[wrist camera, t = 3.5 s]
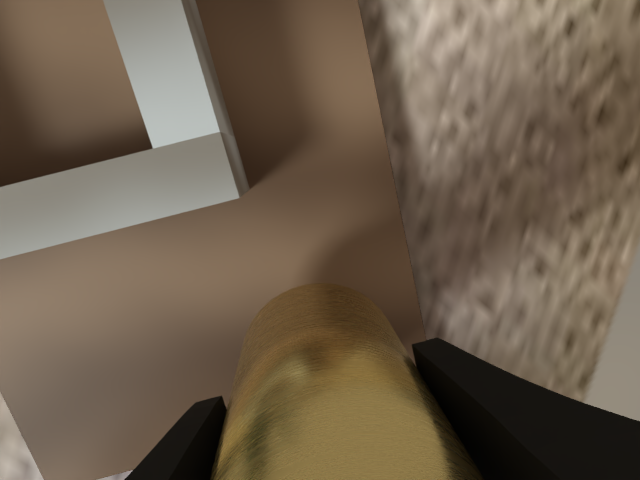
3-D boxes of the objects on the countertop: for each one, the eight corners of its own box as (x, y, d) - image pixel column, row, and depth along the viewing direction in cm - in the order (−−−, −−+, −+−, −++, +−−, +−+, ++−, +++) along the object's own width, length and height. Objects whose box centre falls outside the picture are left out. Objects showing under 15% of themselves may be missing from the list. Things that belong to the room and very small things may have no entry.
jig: (426, 372, 15) (467, 438, 11) (66, 469, 15) (-2, 565, 11) (310, -191, 11) (320, -351, 7) (-192, -72, 10) (-423, -181, 7)
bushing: (408, 401, 12) (583, 760, 5) (265, 440, 12) (231, 865, 5) (378, 265, 11) (542, 464, 4) (222, 306, 11) (95, 588, 4)
